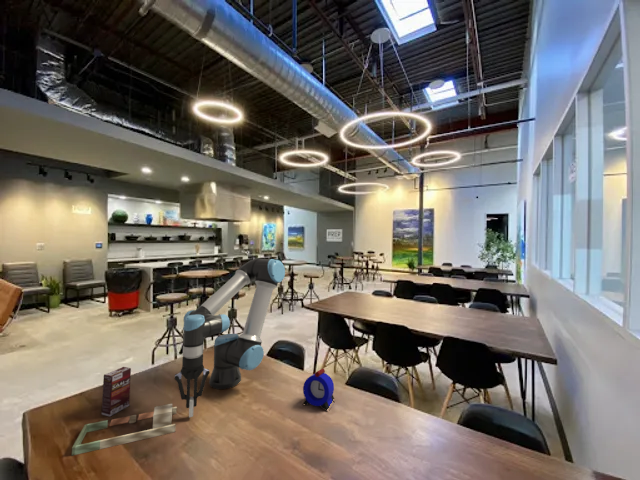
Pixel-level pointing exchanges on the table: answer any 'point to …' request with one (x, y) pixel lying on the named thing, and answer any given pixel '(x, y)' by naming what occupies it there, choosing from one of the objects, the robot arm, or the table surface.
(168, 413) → the cream white block
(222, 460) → the table surface
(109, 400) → the supplement box
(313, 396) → the alarm clock
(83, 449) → the channel
